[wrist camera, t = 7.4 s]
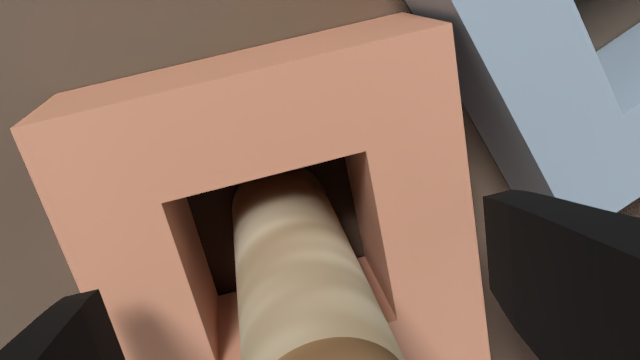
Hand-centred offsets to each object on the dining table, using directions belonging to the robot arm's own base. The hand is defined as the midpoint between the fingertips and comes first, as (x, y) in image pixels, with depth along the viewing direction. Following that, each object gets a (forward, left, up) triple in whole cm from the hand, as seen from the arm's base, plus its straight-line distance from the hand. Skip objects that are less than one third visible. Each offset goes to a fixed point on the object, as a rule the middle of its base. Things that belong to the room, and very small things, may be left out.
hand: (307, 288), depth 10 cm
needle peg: (0, 0, -4) cm, 4 cm away
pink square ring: (0, 0, -4) cm, 4 cm away
